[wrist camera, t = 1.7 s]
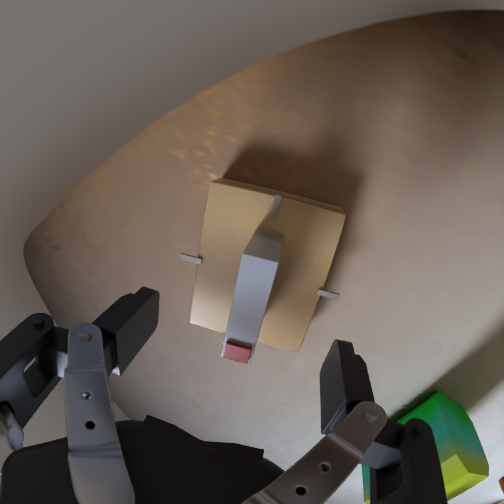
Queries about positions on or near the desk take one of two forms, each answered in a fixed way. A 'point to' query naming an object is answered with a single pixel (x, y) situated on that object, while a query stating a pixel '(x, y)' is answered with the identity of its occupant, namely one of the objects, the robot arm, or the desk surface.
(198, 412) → the desk surface
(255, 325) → the upright gray plate
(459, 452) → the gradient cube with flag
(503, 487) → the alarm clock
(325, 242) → the block
